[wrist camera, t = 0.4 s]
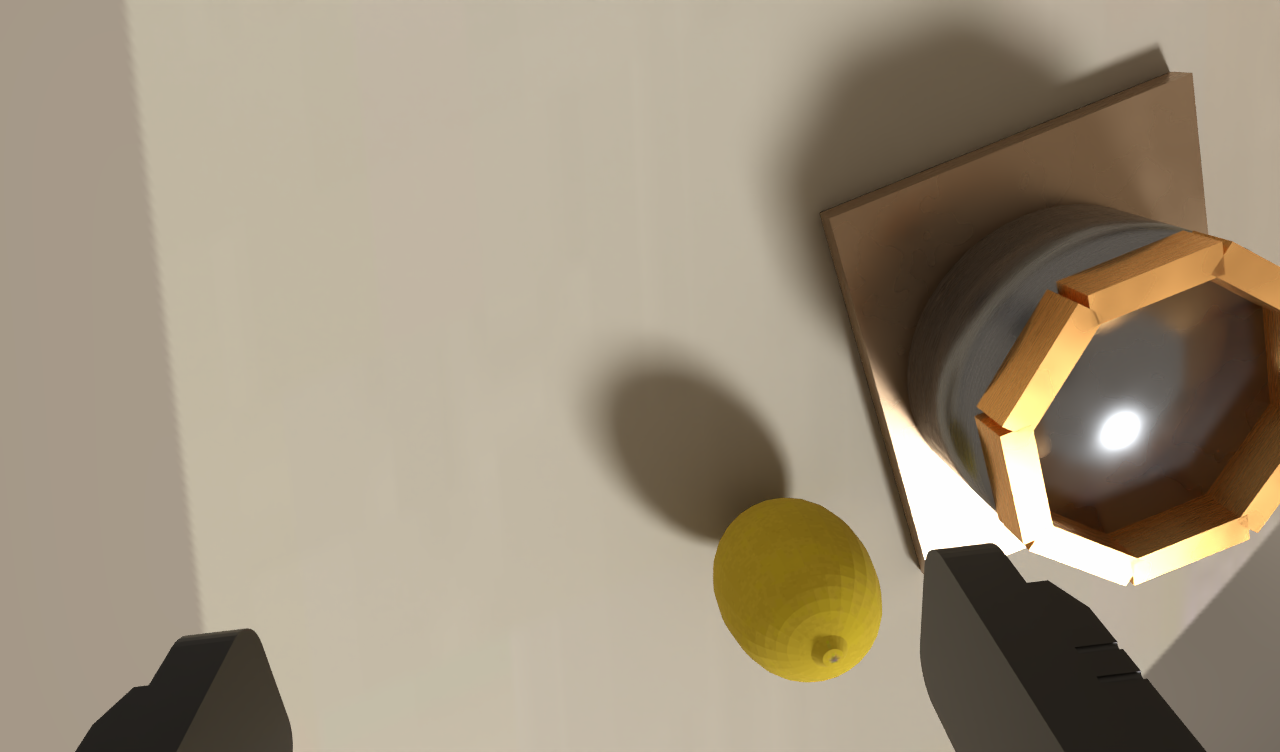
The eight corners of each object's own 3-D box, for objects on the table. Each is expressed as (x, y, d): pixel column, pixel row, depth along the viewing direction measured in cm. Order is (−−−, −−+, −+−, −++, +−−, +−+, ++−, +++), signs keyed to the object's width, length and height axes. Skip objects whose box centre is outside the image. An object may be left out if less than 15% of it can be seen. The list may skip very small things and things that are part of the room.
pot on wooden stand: (819, 213, 30) (914, 266, 23) (1171, 71, 30) (1371, 82, 23) (921, 571, 36) (1020, 697, 29) (1212, 454, 36) (1380, 553, 29)
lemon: (713, 602, 35) (769, 752, 28) (677, 488, 33) (727, 618, 26) (842, 559, 35) (932, 697, 28) (815, 443, 33) (904, 559, 26)
